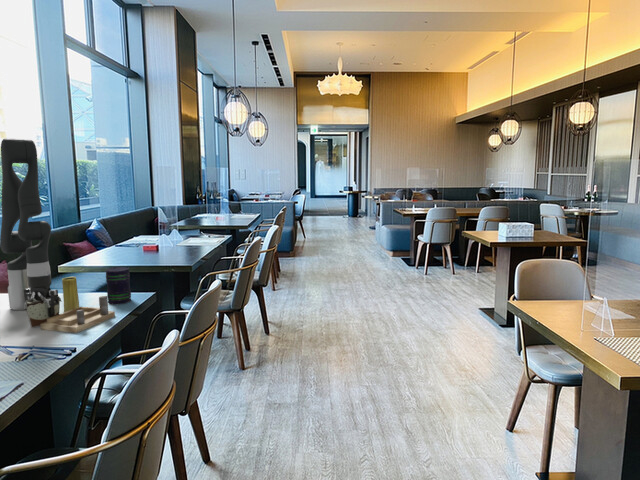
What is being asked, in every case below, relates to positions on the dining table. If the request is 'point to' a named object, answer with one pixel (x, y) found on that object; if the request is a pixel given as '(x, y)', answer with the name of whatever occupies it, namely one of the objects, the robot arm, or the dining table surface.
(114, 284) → the storage jar
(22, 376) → the dining table surface
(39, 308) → the half lattice cake
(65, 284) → the vase
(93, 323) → the carrier board
